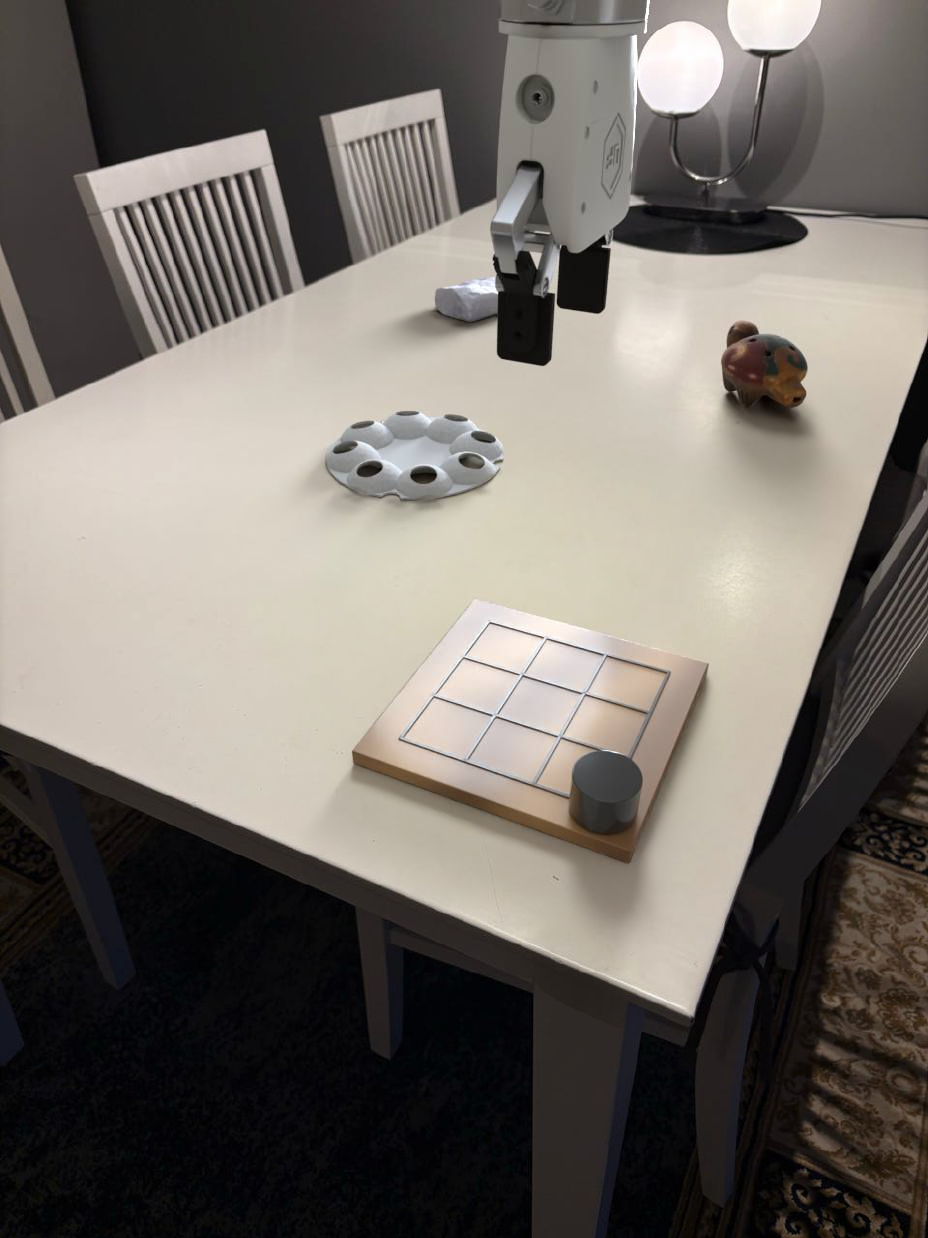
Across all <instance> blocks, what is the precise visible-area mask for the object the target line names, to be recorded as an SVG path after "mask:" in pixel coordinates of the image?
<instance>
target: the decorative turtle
mask: <svg viewBox="0 0 928 1238" xmlns="http://www.w3.org/2000/svg"><path fill="white" fill-rule="evenodd" d="M759 329H760V327H758V326H757V325H756V324H755V323H753V322H752V321H749V320H745V319H744V320H743V319H741V320H737V321H734V323H733V324H732V325H730V327H729V329H728V331H727V334H726V340H725V341H726V349H724V351H723V353H722V355H721V359H720V364H721V374H722V383H723V387H724V389H725V391H726V392H729V393H735V392H736V393H737V395H738V398H739V401H740V402H741V404H742V405H743V406H745V407H752V406H754V405H755V404H756V403H757V402H758V401H759V400H761V398H762V397H763V396H767V397H769V398H770V399H772V400H774V401H775V402H776V403H778V404H780V405H781V406H783V407H784V408H787V409H793V408H798V407H799V406H800V405H801V404H803V402H804V400H805V399H806V397H807V390H806V388H805V387H804V385H803V384H802V382H803V380H804V379H805V378H806V376H807V374H808V369H809V368H808V362H807V359H806V357H805V355H804V354H803V352H802V351H801V350H800V349H799V348H798V346H796V345H795V344H794V343H793V342H792V341H790V340H788V339H787V338H785V337H783V336H780V335H777V334H774V333H760V331H759Z"/></svg>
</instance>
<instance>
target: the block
mask: <svg viewBox="0 0 928 1238" xmlns="http://www.w3.org/2000/svg"><path fill="white" fill-rule="evenodd" d="M495 279H496V276H493V277H490V276H489V277H478V278H474V279H470V280H467V281H463V282H461V283H460V284H457V285H449V286H446V287H439V288H436V289H435V293H434V305H435V309H436V310H437V311H438V312H440V313H441V314H442V315H443V316H447V317H451V318H455V319H457V320H460V321H463V322H467V323H473V322H476V321H480V320H482V319H485V318H490V317H492V316H495V315H496V316H497V314H498V291H497V290H496V287H495Z"/></svg>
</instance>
